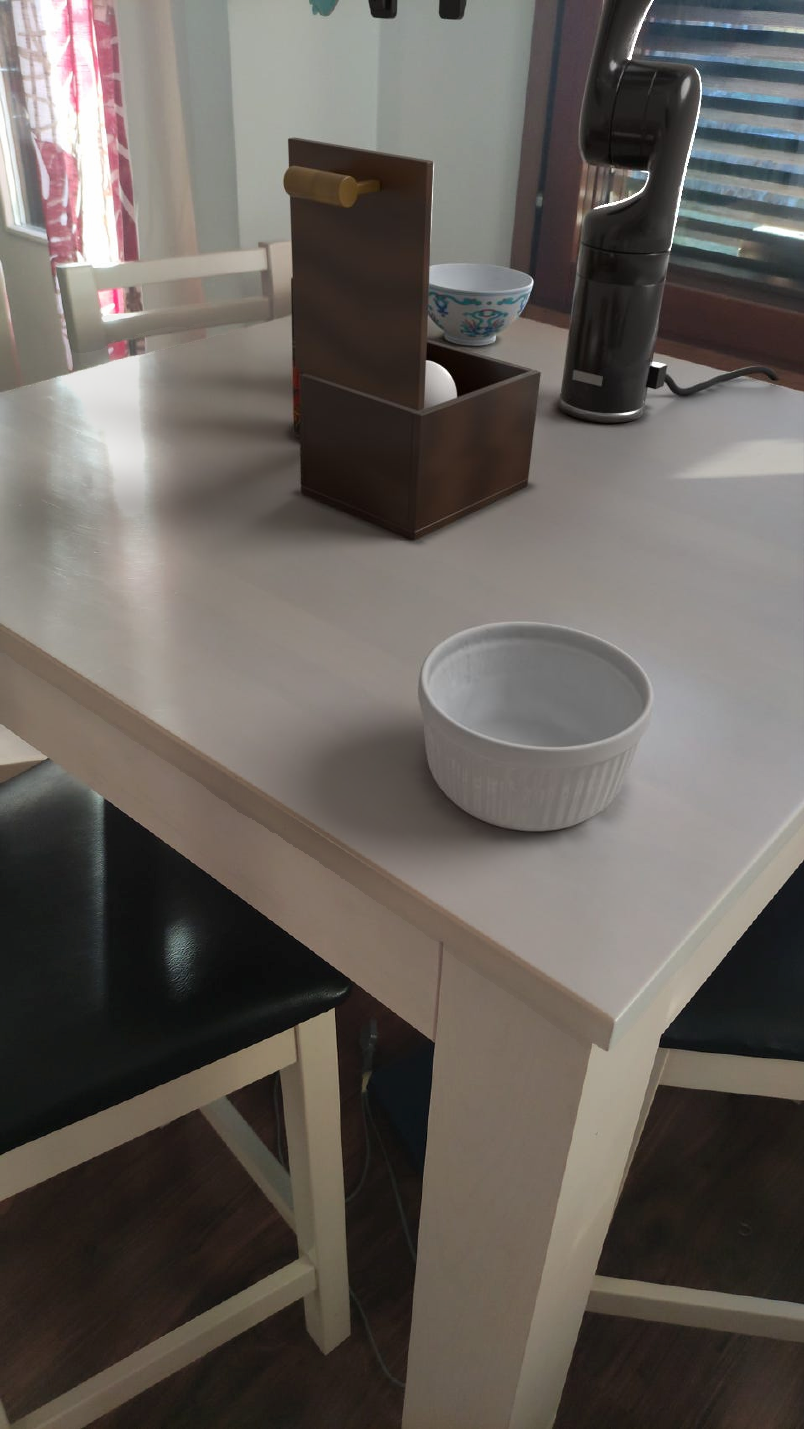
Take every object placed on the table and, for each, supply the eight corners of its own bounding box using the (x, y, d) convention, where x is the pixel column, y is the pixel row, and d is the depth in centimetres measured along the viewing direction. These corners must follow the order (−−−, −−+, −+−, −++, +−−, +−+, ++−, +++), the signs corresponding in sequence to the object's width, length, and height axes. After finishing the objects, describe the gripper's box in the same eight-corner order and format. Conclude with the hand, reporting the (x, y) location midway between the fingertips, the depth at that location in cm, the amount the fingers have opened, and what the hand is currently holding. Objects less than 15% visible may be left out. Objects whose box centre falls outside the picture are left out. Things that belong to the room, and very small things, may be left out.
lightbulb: (458, 475, 99) (467, 356, 92) (439, 500, 94) (447, 376, 88) (397, 464, 100) (402, 347, 94) (375, 488, 96) (378, 366, 89)
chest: (417, 447, 106) (423, 338, 100) (527, 486, 99) (541, 371, 93) (300, 493, 96) (298, 374, 90) (414, 540, 89) (420, 415, 83)
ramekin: (473, 874, 56) (484, 772, 52) (378, 736, 66) (382, 641, 62) (677, 816, 61) (702, 719, 57) (561, 695, 71) (575, 605, 67)
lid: (295, 137, 79) (242, 144, 76) (434, 161, 72) (383, 169, 69) (301, 368, 90) (255, 383, 86) (424, 408, 83) (379, 426, 79)
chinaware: (404, 349, 134) (407, 285, 129) (422, 319, 146) (425, 259, 141) (522, 360, 132) (529, 295, 127) (530, 328, 144) (536, 268, 140)
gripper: (405, -272, 70) (395, 22, 79) (529, -237, 79) (507, 22, 88) (323, -263, 73) (323, 16, 83) (450, -231, 82) (438, 17, 92)
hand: (418, 19), depth 85 cm, fingers open, 8 cm apart
